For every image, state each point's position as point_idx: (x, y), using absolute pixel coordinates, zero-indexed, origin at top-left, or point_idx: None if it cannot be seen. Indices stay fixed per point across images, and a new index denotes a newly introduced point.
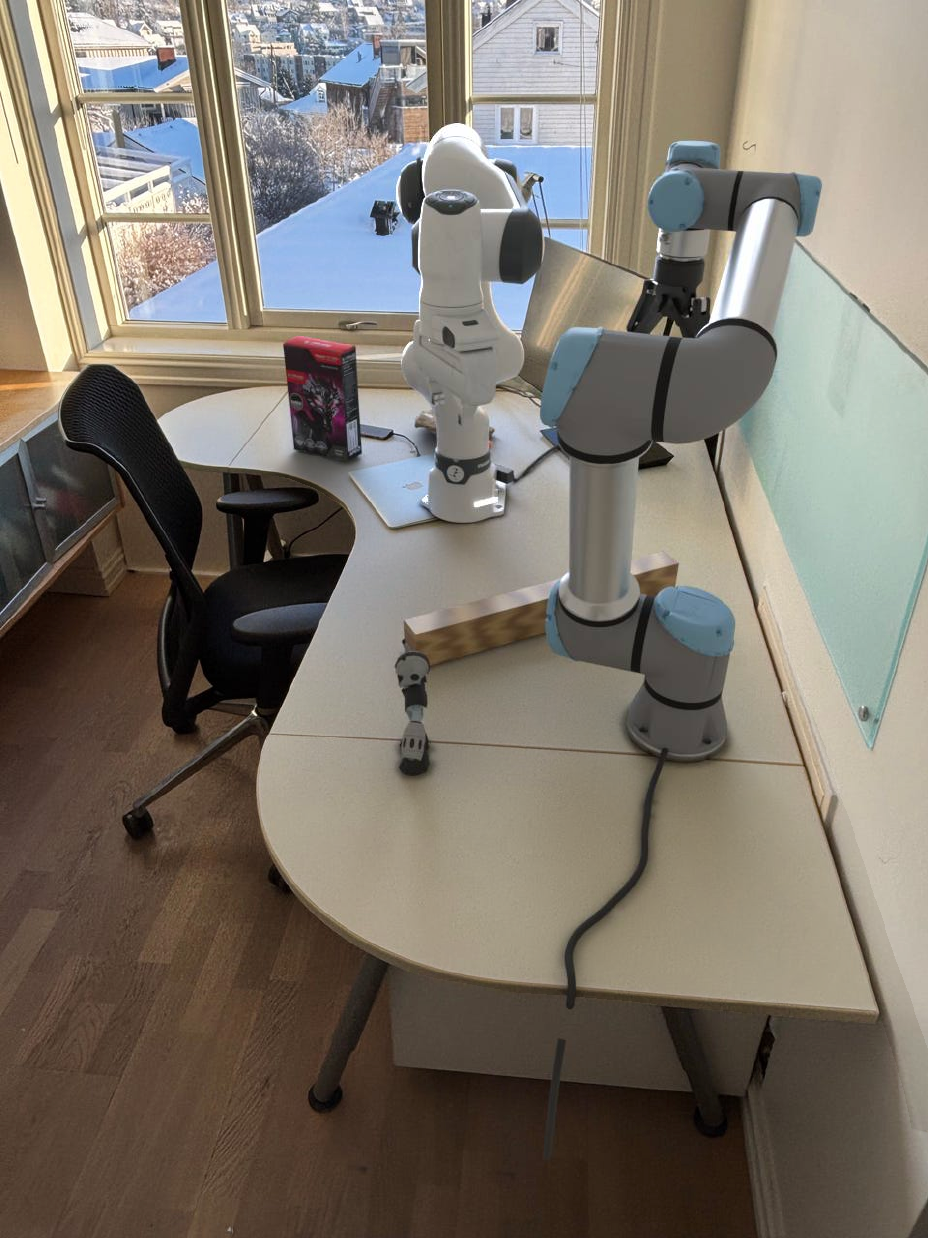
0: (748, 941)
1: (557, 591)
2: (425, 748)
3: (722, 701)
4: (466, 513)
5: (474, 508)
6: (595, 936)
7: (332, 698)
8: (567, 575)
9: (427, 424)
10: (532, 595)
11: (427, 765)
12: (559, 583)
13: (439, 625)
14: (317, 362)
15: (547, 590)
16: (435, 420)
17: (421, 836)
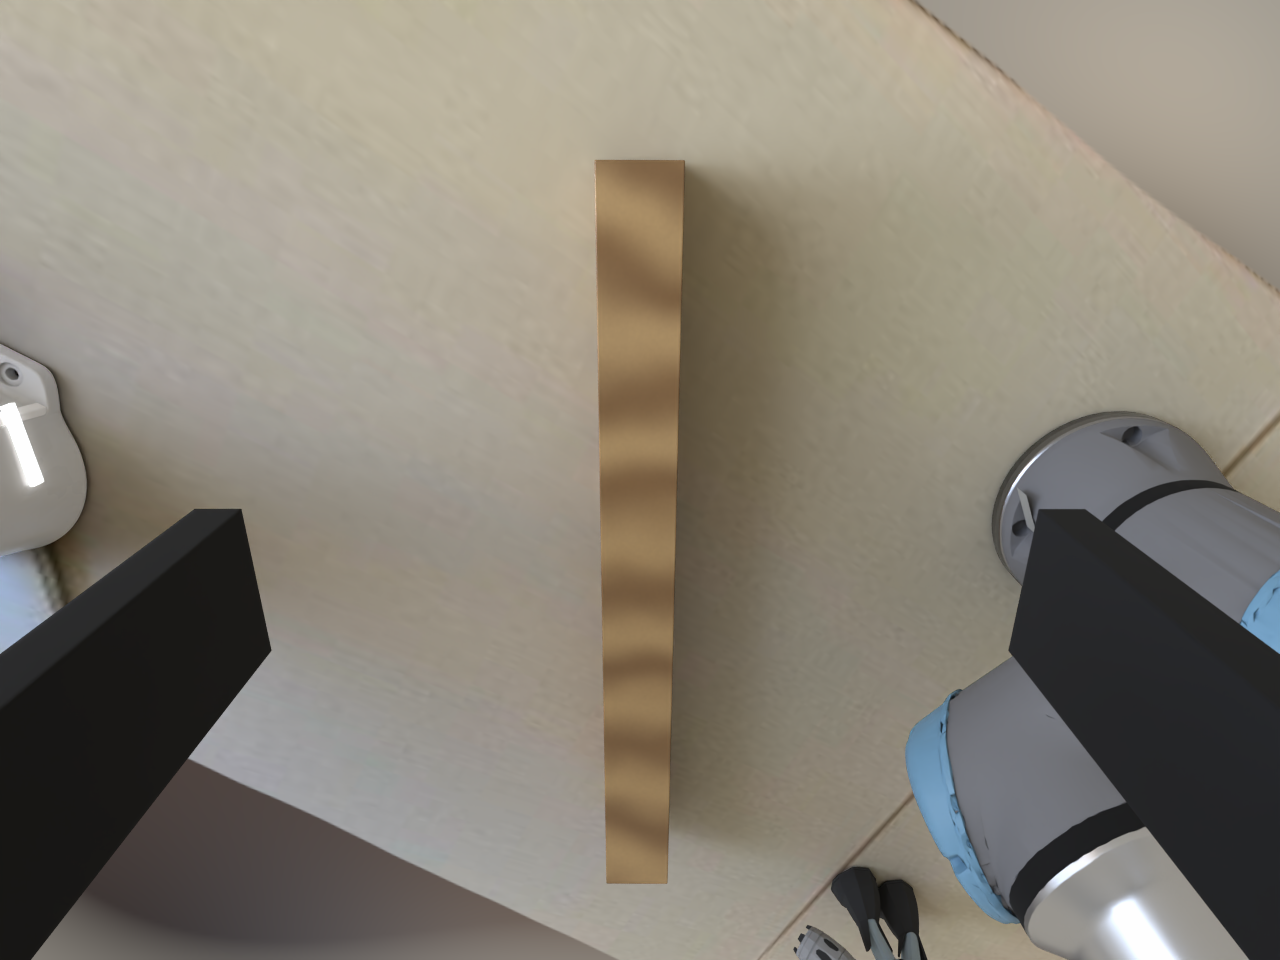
0: None
1: (1017, 919)
2: (911, 915)
3: (1227, 482)
4: (59, 499)
5: (46, 480)
6: None
7: (672, 934)
8: (1056, 952)
9: None
10: (643, 636)
11: (909, 889)
12: (996, 907)
13: (659, 840)
14: None
15: (639, 595)
16: None
17: (1017, 929)
